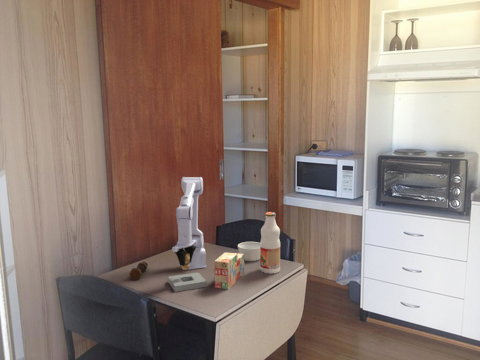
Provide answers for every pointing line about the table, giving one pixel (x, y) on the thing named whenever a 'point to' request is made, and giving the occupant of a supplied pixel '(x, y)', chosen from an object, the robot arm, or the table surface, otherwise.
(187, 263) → the peg
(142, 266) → the bolt
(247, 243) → the ramekin
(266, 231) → the fruit juice
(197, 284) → the board
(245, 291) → the table surface
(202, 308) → the table surface
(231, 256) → the stack of blocks
